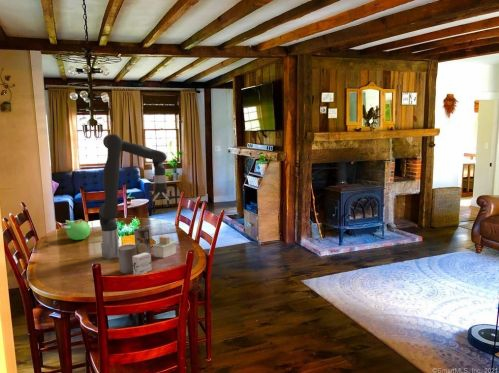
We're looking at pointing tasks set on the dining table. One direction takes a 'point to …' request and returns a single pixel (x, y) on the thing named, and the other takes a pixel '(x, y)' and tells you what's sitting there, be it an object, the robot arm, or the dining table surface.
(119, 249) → the pillar candle
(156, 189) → the robot arm
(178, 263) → the dining table surface
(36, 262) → the dining table surface
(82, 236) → the green round pot
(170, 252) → the cream box
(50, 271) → the dining table surface
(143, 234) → the coffee box
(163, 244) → the lid
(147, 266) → the ink box
